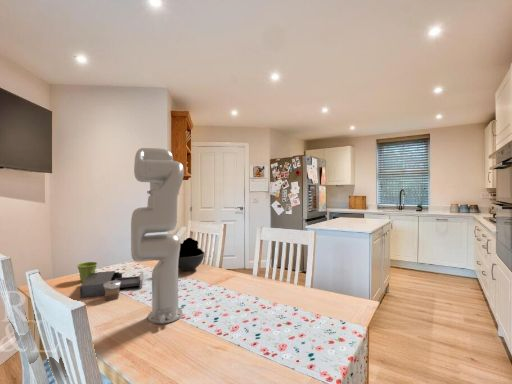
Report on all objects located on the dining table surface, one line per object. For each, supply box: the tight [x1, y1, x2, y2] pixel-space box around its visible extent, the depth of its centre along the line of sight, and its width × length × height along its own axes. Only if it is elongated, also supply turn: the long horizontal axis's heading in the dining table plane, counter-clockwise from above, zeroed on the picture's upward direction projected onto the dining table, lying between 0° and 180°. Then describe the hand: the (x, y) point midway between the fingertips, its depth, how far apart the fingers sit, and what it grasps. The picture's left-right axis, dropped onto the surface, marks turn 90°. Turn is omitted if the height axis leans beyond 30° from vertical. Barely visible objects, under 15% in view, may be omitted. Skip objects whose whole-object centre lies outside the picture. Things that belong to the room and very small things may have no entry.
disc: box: [103, 280, 121, 289], centre depth 124 cm, size 7×7×2 cm
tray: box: [114, 271, 144, 289], centre depth 139 cm, size 14×14×4 cm
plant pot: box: [76, 261, 99, 283], centre depth 147 cm, size 9×9×9 cm
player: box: [79, 270, 123, 299], centre depth 135 cm, size 20×15×5 cm
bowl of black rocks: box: [178, 237, 205, 272], centre depth 165 cm, size 20×20×19 cm
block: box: [104, 287, 120, 301], centre depth 124 cm, size 5×5×5 cm
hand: (157, 225), depth 145 cm, fingers open, 9 cm apart
